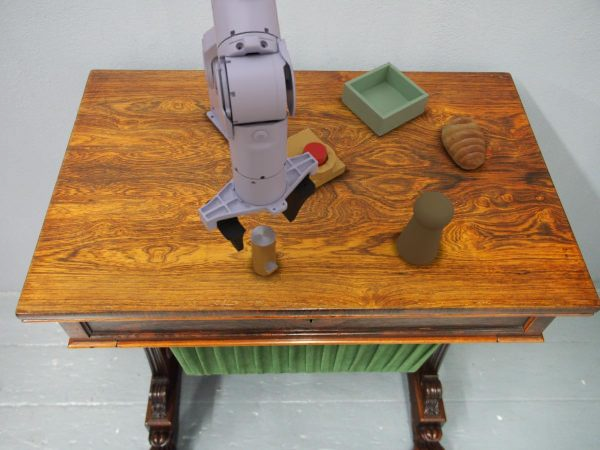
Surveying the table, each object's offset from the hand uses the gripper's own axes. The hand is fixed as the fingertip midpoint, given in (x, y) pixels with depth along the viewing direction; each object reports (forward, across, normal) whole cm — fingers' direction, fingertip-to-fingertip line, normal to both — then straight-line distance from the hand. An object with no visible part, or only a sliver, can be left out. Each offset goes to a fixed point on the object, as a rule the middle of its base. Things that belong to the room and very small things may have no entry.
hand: (262, 230), depth 62 cm
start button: (+6, +16, +10) cm, 20 cm away
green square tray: (+9, +35, +15) cm, 39 cm away
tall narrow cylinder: (+9, 0, 0) cm, 9 cm away
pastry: (+9, +40, 0) cm, 41 cm away
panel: (+9, +16, +12) cm, 22 cm away
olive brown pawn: (+9, +20, -10) cm, 24 cm away
